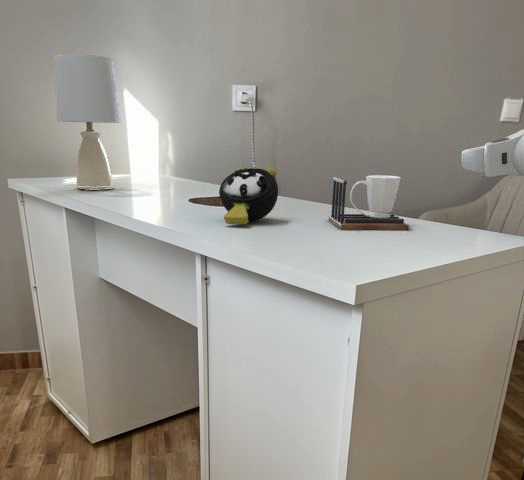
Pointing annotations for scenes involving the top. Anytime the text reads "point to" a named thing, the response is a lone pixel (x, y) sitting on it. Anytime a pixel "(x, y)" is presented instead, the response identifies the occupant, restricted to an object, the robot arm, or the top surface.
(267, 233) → the top surface
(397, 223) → the rack
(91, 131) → the lamp
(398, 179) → the cup
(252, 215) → the alarm clock
